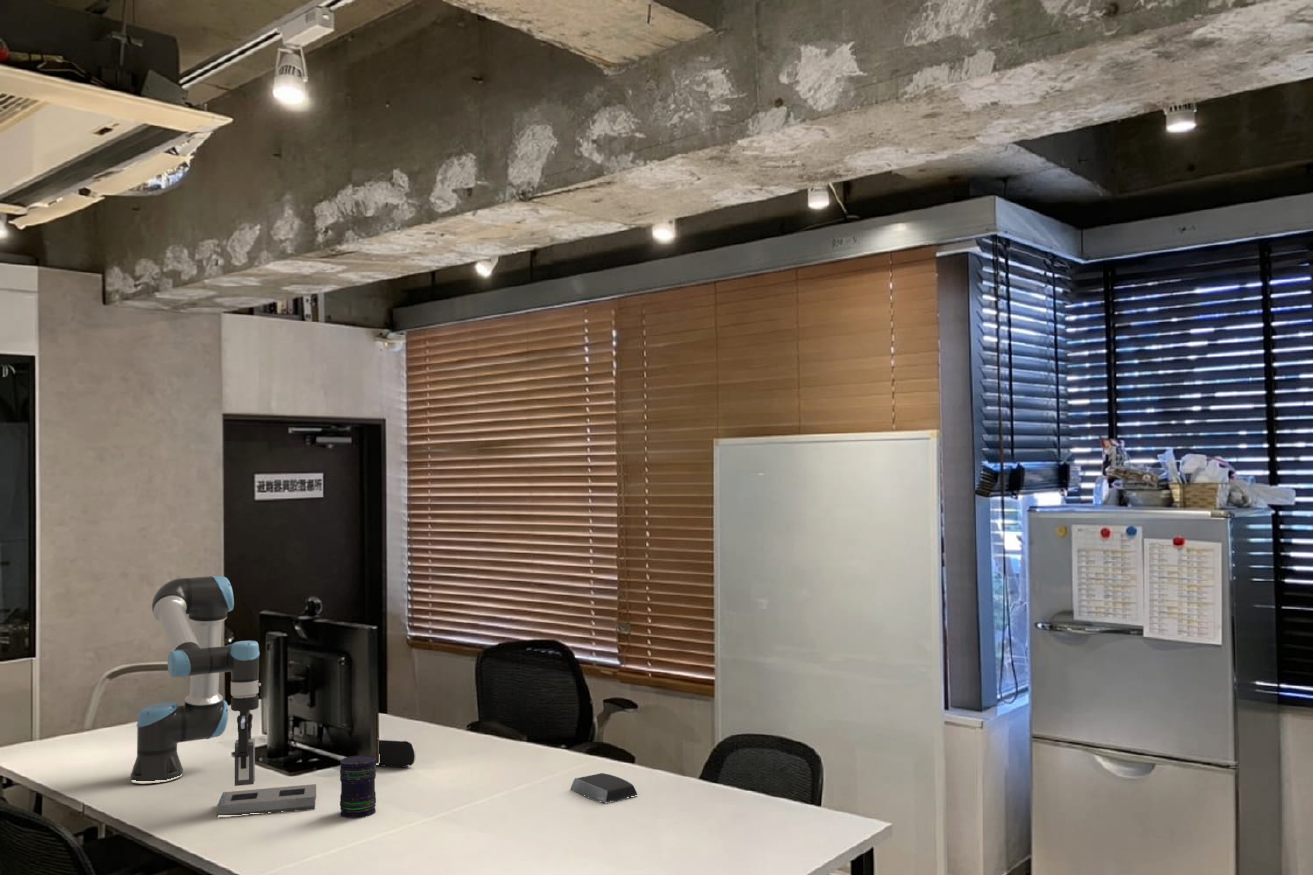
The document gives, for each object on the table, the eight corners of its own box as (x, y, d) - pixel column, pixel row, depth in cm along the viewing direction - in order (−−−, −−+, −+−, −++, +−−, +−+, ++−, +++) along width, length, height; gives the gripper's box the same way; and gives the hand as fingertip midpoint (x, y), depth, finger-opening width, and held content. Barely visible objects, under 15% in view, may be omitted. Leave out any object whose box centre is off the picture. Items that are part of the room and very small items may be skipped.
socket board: (223, 804, 306) (223, 792, 306) (316, 795, 313) (316, 783, 313) (216, 818, 292) (217, 805, 293) (314, 809, 300) (314, 796, 300)
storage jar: (338, 810, 298) (338, 757, 299) (374, 806, 302) (374, 753, 302) (341, 820, 289) (341, 765, 290) (377, 815, 292) (377, 761, 293)
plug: (236, 781, 303) (236, 739, 303) (254, 780, 304) (254, 738, 305) (234, 785, 298) (234, 743, 299) (253, 784, 300) (253, 741, 300)
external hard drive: (602, 805, 300) (602, 791, 300) (568, 791, 316) (568, 777, 316) (640, 797, 307) (639, 783, 308) (604, 783, 323) (604, 770, 323)
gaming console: (413, 769, 342) (417, 766, 345) (411, 742, 342) (415, 739, 345) (361, 766, 348) (365, 763, 350) (360, 739, 348) (364, 737, 350)
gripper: (256, 699, 295) (255, 783, 294) (261, 689, 312) (261, 768, 311) (227, 701, 293) (227, 786, 292) (234, 691, 310) (234, 770, 309)
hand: (244, 776), depth 301 cm, fingers closed on plug, 4 cm apart
